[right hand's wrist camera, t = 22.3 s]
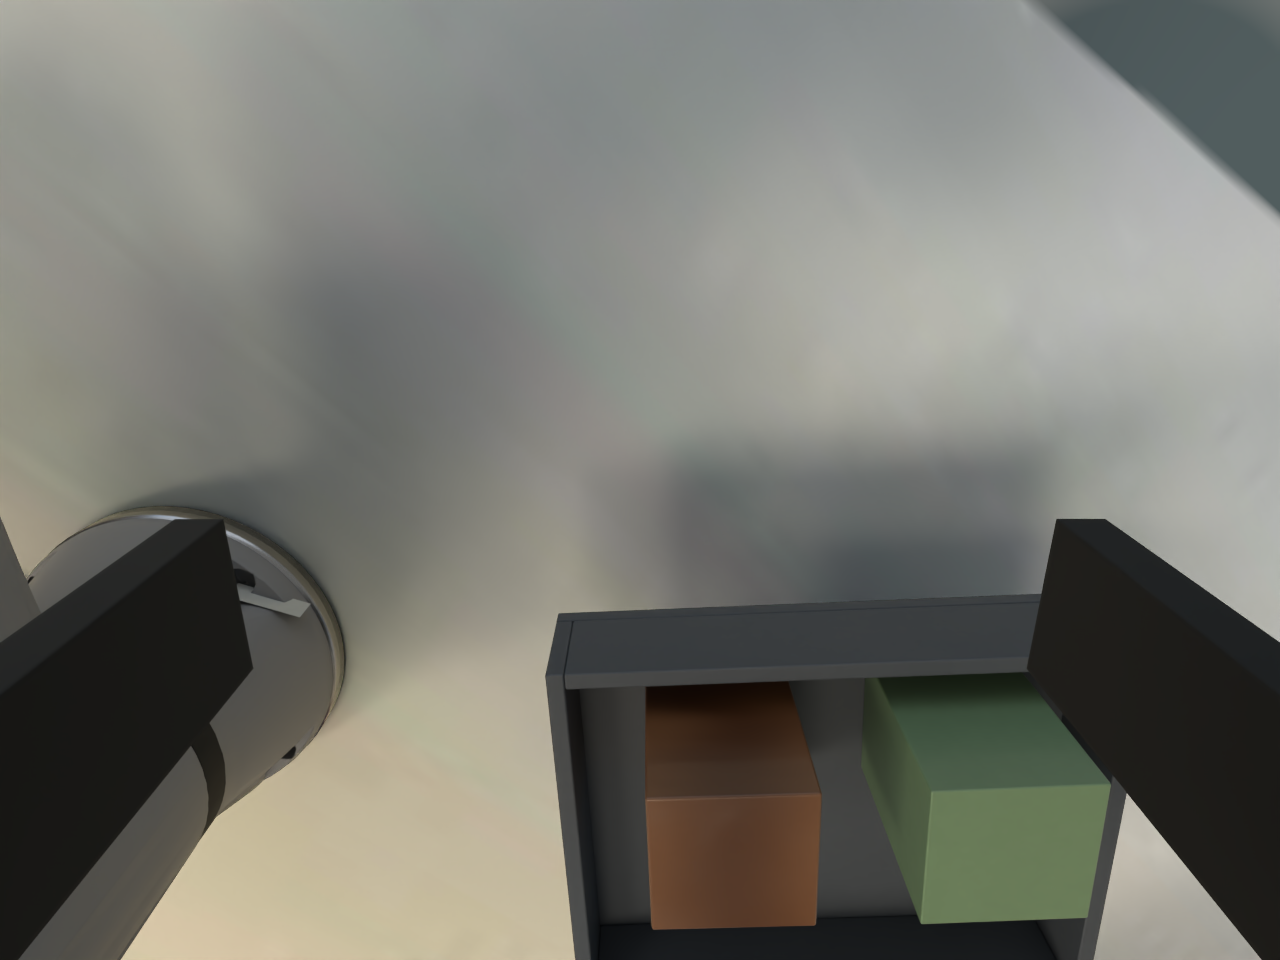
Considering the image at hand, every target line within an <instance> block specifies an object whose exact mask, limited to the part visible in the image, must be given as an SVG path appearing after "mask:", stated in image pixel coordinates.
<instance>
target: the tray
mask: <svg viewBox="0 0 1280 960" xmlns="http://www.w3.org/2000/svg"><path fill="white" fill-rule="evenodd" d="M1040 599H1041V594H1027V595H1002V596H978V597H953V598H928V599H903V600H879V601H854V602H829V603H805V604H780V605H755V606H730V607H706V608H681V609H656V610H632V611H607V612H582V613H559V614H558V618H557V624H556V628H555V633H554V638H553V642H552V647H551V652H550V657H549V661H548V666H547V671H546V676H545V677H546V686H547V696H548V705H549V714H550V724H551V733H552V743H553V752H554V762H555V771H556V781H557V790H558V800H559V809H560V819H561V828H562V838H563V847H564V857H565V866H566V875H567V885H568V894H569V904H570V913H571V923H572V932H573V942H574V951H575V960H1093V959H1094V954H1095V949H1096V944H1097V939H1098V934H1099V929H1100V924H1101V919H1102V914H1103V909H1104V904H1105V899H1106V894H1107V889H1108V884H1109V879H1110V874H1111V869H1112V864H1113V859H1114V854H1115V849H1116V844H1117V839H1118V834H1119V829H1120V824H1121V819H1122V814H1123V809H1124V804H1125V799H1126V794H1127V792H1126V791H1125V790H1124V789H1123V787H1122V786H1121V785H1120V784H1119V782H1118V781H1117V780H1116V779H1115V777H1114V776H1113V775H1112V774H1111V772H1110V771H1109V770H1108V769H1107V768H1106V766H1105V765H1104V764H1103V763H1102V761H1101V760H1100V759H1099V758H1098V756H1097V755H1096V754H1095V753H1094V751H1093V750H1092V749H1091V748H1090V746H1089V745H1088V744H1087V743H1086V742H1085V740H1084V739H1083V738H1082V737H1081V735H1080V734H1079V733H1078V732H1077V730H1076V729H1075V728H1074V727H1073V725H1072V724H1071V723H1070V722H1069V720H1068V719H1067V718H1066V717H1065V716H1064V714H1063V713H1062V712H1061V711H1060V709H1059V708H1058V707H1057V706H1056V704H1055V703H1054V702H1053V701H1052V699H1051V698H1050V697H1049V696H1048V694H1047V693H1046V692H1045V691H1044V690H1043V688H1042V687H1041V686H1040V685H1039V683H1038V682H1037V681H1036V680H1035V678H1034V677H1033V676H1032V675H1031V673H1030V672H1029V671H1028V670H1027V664H1028V659H1029V654H1030V649H1031V644H1032V639H1033V634H1034V629H1035V624H1036V619H1037V614H1038V609H1039V604H1040ZM1014 672H1023V674H1024V675H1025V676H1026V678H1027V679H1028V680H1029V681H1030V683H1031V684H1032V685H1033V686H1034V688H1035V689H1036V690H1037V691H1038V693H1039V694H1040V695H1041V696H1042V698H1043V699H1044V700H1045V701H1046V703H1047V704H1048V705H1049V706H1050V708H1051V709H1052V710H1053V711H1054V713H1055V714H1056V715H1057V717H1058V718H1059V719H1060V720H1061V722H1062V723H1063V724H1064V725H1065V727H1066V728H1067V729H1068V730H1069V732H1070V733H1071V734H1072V735H1073V737H1074V738H1075V739H1076V740H1077V742H1078V743H1079V744H1080V745H1081V747H1082V748H1083V749H1084V751H1085V752H1086V753H1087V754H1088V756H1089V757H1090V758H1091V759H1092V761H1093V762H1094V763H1095V764H1096V766H1097V767H1098V768H1099V769H1100V771H1101V772H1102V773H1103V774H1104V776H1105V777H1106V778H1107V779H1108V781H1109V782H1110V784H1111V788H1110V794H1109V800H1108V805H1107V811H1106V817H1105V822H1104V828H1103V833H1102V839H1101V845H1100V850H1099V856H1098V862H1097V867H1096V873H1095V878H1094V884H1093V890H1092V895H1091V901H1090V907H1089V912H1088V917H1087V918H1068V919H1042V920H1015V921H989V922H963V923H937V924H921V923H920V920H919V918H918V915H917V912H916V910H915V907H914V905H913V902H912V899H911V897H910V894H909V891H908V889H907V886H906V883H905V881H904V878H903V876H902V873H901V870H900V868H899V865H898V862H897V860H896V857H895V854H894V852H893V849H892V847H891V844H890V841H889V839H888V836H887V833H886V831H885V828H884V825H883V823H882V820H881V817H880V815H879V812H878V810H877V807H876V804H875V802H874V799H873V796H872V794H871V791H870V788H869V786H868V783H867V781H866V778H865V775H864V773H863V770H862V767H861V759H862V737H863V714H864V691H865V678H883V677H910V676H936V675H962V674H988V673H1014ZM779 681H789V684H790V687H791V691H792V694H793V697H794V701H795V704H796V708H797V711H798V714H799V718H800V721H801V724H802V728H803V731H804V735H805V738H806V741H807V745H808V748H809V751H810V755H811V758H812V762H813V765H814V768H815V772H816V775H817V778H818V782H819V785H820V789H821V792H822V808H821V830H820V852H819V874H818V896H817V918H816V925H814V926H778V927H738V928H699V929H659V930H654V929H652V926H651V907H650V886H649V866H648V846H647V826H646V806H645V687H648V686H674V685H700V684H726V683H752V682H779Z"/></svg>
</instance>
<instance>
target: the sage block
mask: <svg viewBox="0 0 1280 960" xmlns="http://www.w3.org/2000/svg"><path fill="white" fill-rule="evenodd" d="M861 767H862V770H863V773H864V775H865V778H866V781H867V783H868V786H869V788H870V791H871V794H872V796H873V799H874V802H875V804H876V807H877V810H878V812H879V815H880V817H881V820H882V823H883V825H884V828H885V831H886V833H887V836H888V839H889V841H890V844H891V847H892V849H893V852H894V854H895V857H896V860H897V862H898V865H899V868H900V870H901V873H902V876H903V878H904V881H905V883H906V886H907V889H908V891H909V894H910V897H911V899H912V902H913V905H914V907H915V910H916V912H917V915H918V918H919V920H920V923H921V924H937V923H963V922H989V921H1015V920H1042V919H1068V918H1087V917H1088V912H1089V907H1090V901H1091V895H1092V890H1093V884H1094V878H1095V873H1096V867H1097V862H1098V856H1099V850H1100V845H1101V839H1102V833H1103V828H1104V822H1105V817H1106V811H1107V805H1108V800H1109V794H1110V788H1111V784H1110V782H1109V781H1108V779H1107V778H1106V777H1105V776H1104V774H1103V773H1102V772H1101V771H1100V769H1099V768H1098V767H1097V766H1096V764H1095V763H1094V762H1093V761H1092V759H1091V758H1090V757H1089V756H1088V754H1087V753H1086V752H1085V751H1084V749H1083V748H1082V747H1081V745H1080V744H1079V743H1078V742H1077V740H1076V739H1075V738H1074V737H1073V735H1072V734H1071V733H1070V732H1069V730H1068V729H1067V728H1066V727H1065V725H1064V724H1063V723H1062V722H1061V720H1060V719H1059V718H1058V717H1057V715H1056V714H1055V713H1054V711H1053V710H1052V709H1051V708H1050V706H1049V705H1048V704H1047V703H1046V701H1045V700H1044V699H1043V698H1042V696H1041V695H1040V694H1039V693H1038V691H1037V690H1036V689H1035V688H1034V686H1033V685H1032V684H1031V683H1030V681H1029V680H1028V679H1027V678H1026V676H1025V675H1024V674H1023V672H1014V673H988V674H962V675H936V676H910V677H883V678H865V691H864V714H863V737H862V759H861Z"/></svg>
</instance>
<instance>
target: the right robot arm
mask: <svg viewBox="0 0 1280 960" xmlns="http://www.w3.org/2000/svg"><path fill="white" fill-rule="evenodd" d="M1027 670H1028V671H1029V672H1030V673H1031V675H1032V676H1033V677H1034V678H1035V680H1036V681H1037V682H1038V683H1039V685H1040V686H1041V687H1042V688H1043V690H1044V691H1045V692H1046V693H1047V694H1048V696H1049V697H1050V698H1051V699H1052V701H1053V702H1054V703H1055V704H1056V706H1057V707H1058V708H1059V709H1060V711H1061V712H1062V713H1063V714H1064V716H1065V717H1066V718H1067V719H1068V720H1069V722H1070V723H1071V724H1072V725H1073V727H1074V728H1075V729H1076V730H1077V732H1078V733H1079V734H1080V735H1081V737H1082V738H1083V739H1084V740H1085V742H1086V743H1087V744H1088V745H1089V746H1090V748H1091V749H1092V750H1093V751H1094V753H1095V754H1096V755H1097V756H1098V758H1099V759H1100V760H1101V761H1102V763H1103V764H1104V765H1105V766H1106V768H1107V769H1108V770H1109V771H1110V772H1111V774H1112V775H1113V776H1114V777H1115V779H1116V780H1117V781H1118V782H1119V784H1120V785H1121V786H1122V787H1123V789H1124V790H1125V791H1126V792H1127V793H1128V795H1129V796H1130V797H1131V798H1132V800H1133V801H1134V802H1135V803H1136V805H1137V806H1138V807H1139V808H1140V810H1141V811H1142V812H1143V813H1144V815H1145V816H1146V817H1147V818H1148V819H1149V821H1150V822H1151V823H1152V824H1153V826H1154V827H1155V828H1156V829H1157V831H1158V832H1159V833H1160V834H1161V836H1162V837H1163V838H1164V839H1165V841H1166V842H1167V843H1168V844H1169V845H1170V847H1171V848H1172V849H1173V850H1174V852H1175V853H1176V854H1177V855H1178V857H1179V858H1180V859H1181V860H1182V862H1183V863H1184V864H1185V865H1186V867H1187V868H1188V869H1189V870H1190V871H1191V873H1192V874H1193V875H1194V876H1195V878H1196V879H1197V880H1198V881H1199V883H1200V884H1201V885H1202V886H1203V888H1204V889H1205V890H1206V891H1207V893H1208V894H1209V895H1210V896H1211V897H1212V899H1213V900H1214V901H1215V902H1216V904H1217V905H1218V906H1219V907H1220V909H1221V910H1222V911H1223V912H1224V914H1225V915H1226V916H1227V917H1228V919H1229V920H1230V921H1231V922H1232V923H1233V925H1234V926H1235V927H1236V928H1237V930H1238V931H1239V932H1240V933H1241V935H1242V936H1243V937H1244V938H1245V940H1246V941H1247V942H1248V943H1249V944H1250V946H1251V947H1252V948H1253V949H1254V951H1255V952H1256V953H1257V954H1258V956H1259V957H1260V958H1261V959H1262V960H1280V642H1278V641H1277V640H1275V639H1274V638H1273V637H1271V636H1270V635H1268V634H1267V633H1266V632H1264V631H1263V630H1261V629H1260V628H1258V627H1257V626H1256V625H1254V624H1253V623H1251V622H1250V621H1249V620H1247V619H1246V618H1244V617H1243V616H1241V615H1240V614H1239V613H1237V612H1236V611H1234V610H1233V609H1232V608H1230V607H1229V606H1227V605H1226V604H1225V603H1223V602H1222V601H1220V600H1219V599H1217V598H1216V597H1215V596H1213V595H1212V594H1210V593H1209V592H1208V591H1206V590H1205V589H1203V588H1202V587H1200V586H1199V585H1198V584H1196V583H1195V582H1193V581H1192V580H1191V579H1189V578H1188V577H1186V576H1185V575H1184V574H1182V573H1181V572H1179V571H1178V570H1176V569H1175V568H1174V567H1172V566H1171V565H1169V564H1168V563H1167V562H1165V561H1164V560H1162V559H1161V558H1159V557H1158V556H1157V555H1155V554H1154V553H1152V552H1151V551H1150V550H1148V549H1147V548H1145V547H1144V546H1143V545H1141V544H1140V543H1138V542H1137V541H1135V540H1134V539H1133V538H1131V537H1130V536H1128V535H1127V534H1126V533H1124V532H1123V531H1121V530H1120V529H1118V528H1117V527H1116V526H1114V525H1113V524H1111V523H1110V522H1109V521H1107V520H1106V519H1056V524H1055V529H1054V534H1053V539H1052V544H1051V549H1050V554H1049V559H1048V564H1047V569H1046V574H1045V579H1044V584H1043V589H1042V594H1041V599H1040V604H1039V609H1038V614H1037V619H1036V624H1035V629H1034V634H1033V639H1032V644H1031V649H1030V654H1029V659H1028V664H1027ZM343 675H344V648H343V642H342V637H341V633H340V629H339V625H338V623H337V620H336V618H335V615H334V612H333V610H332V608H331V606H330V604H329V602H328V600H327V599H326V597H325V596H324V594H323V592H322V591H321V589H320V588H319V586H318V585H317V584H316V582H315V581H314V580H313V578H312V577H311V576H310V575H309V574H308V572H307V571H306V570H305V569H304V568H303V567H302V566H301V565H300V564H299V563H298V562H297V561H296V560H295V559H294V558H293V557H292V556H291V555H290V554H288V553H287V552H286V551H285V550H283V549H282V548H281V547H280V546H278V545H277V544H276V543H274V542H273V541H271V540H270V539H268V538H267V537H265V536H264V535H262V534H260V533H258V532H256V531H255V530H253V529H251V528H249V527H247V526H245V525H243V524H241V523H238V522H236V521H234V520H231V519H228V518H226V517H223V516H220V515H217V514H213V513H209V512H206V511H202V510H196V509H191V508H184V507H173V506H152V507H141V508H135V509H130V510H125V511H122V512H118V513H115V514H112V515H109V516H107V517H105V518H102V519H100V520H98V521H96V522H94V523H93V524H91V525H89V526H87V527H86V528H84V529H82V530H81V531H79V532H77V533H76V534H74V535H72V536H71V537H69V538H67V539H66V540H65V541H63V542H62V543H61V544H59V545H58V546H57V547H56V548H55V549H54V550H53V551H52V552H50V553H49V554H48V555H47V556H46V557H45V558H44V559H43V560H42V561H41V562H40V563H39V564H38V565H37V566H36V567H35V568H34V570H33V571H32V572H31V574H30V575H29V577H28V578H27V580H26V578H25V576H24V573H23V571H22V569H21V566H20V564H19V562H18V559H17V557H16V554H15V552H14V549H13V547H12V545H11V542H10V540H9V537H8V535H7V532H6V530H5V527H4V525H3V522H2V520H1V517H0V960H121V958H122V957H123V955H124V954H125V952H126V951H127V949H128V948H129V946H130V945H131V943H132V942H133V940H134V939H135V937H136V936H137V934H138V933H139V931H140V930H141V928H142V927H143V925H144V924H145V922H146V921H147V919H148V918H149V916H150V915H151V913H152V912H153V910H154V909H155V907H156V906H157V904H158V903H159V901H160V900H161V898H162V897H163V895H164V894H165V892H166V890H167V889H168V887H169V886H170V884H171V883H172V881H173V880H174V878H175V877H176V875H177V874H178V872H179V871H180V869H181V868H182V866H183V865H184V863H185V862H186V860H187V859H188V857H189V856H190V854H191V853H192V851H193V850H194V848H195V847H196V845H197V843H198V842H199V840H200V839H201V838H202V836H203V835H204V833H205V832H206V830H207V829H208V828H209V826H210V825H211V823H212V822H213V820H214V819H215V818H216V817H217V816H218V815H219V814H221V813H222V812H223V811H225V810H226V809H228V808H229V807H230V806H232V805H233V804H234V803H236V802H237V801H239V800H240V799H241V798H243V797H244V796H245V795H247V794H248V793H249V792H251V791H252V790H253V789H254V788H256V787H257V786H258V785H259V784H260V783H261V782H262V781H263V780H264V779H266V778H268V777H270V776H272V775H273V774H275V773H276V772H278V771H279V770H281V769H282V768H283V767H285V766H286V765H287V764H289V763H290V762H291V761H292V760H294V759H295V758H296V757H297V756H298V755H299V754H300V753H301V752H302V751H303V749H304V748H305V747H306V746H307V745H308V744H309V743H310V742H311V741H312V740H313V738H314V737H315V736H316V735H317V733H318V732H319V730H320V728H321V727H322V725H323V724H324V722H325V720H326V719H327V717H328V715H329V714H330V712H331V711H332V709H333V707H334V705H335V703H336V700H337V698H338V695H339V692H340V689H341V686H342V681H343Z"/></svg>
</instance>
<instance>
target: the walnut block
mask: <svg viewBox="0 0 1280 960" xmlns="http://www.w3.org/2000/svg"><path fill="white" fill-rule="evenodd" d="M645 806H646V826H647V846H648V866H649V886H650V907H651V926H652V929H654V930H659V929H699V928H738V927H778V926H814V925H816V918H817V896H818V874H819V852H820V830H821V808H822V792H821V789H820V785H819V782H818V778H817V775H816V772H815V768H814V765H813V762H812V758H811V755H810V751H809V748H808V745H807V741H806V738H805V735H804V731H803V728H802V724H801V721H800V718H799V714H798V711H797V708H796V704H795V701H794V697H793V694H792V691H791V687H790V684H789V681H779V682H752V683H726V684H700V685H674V686H648V687H645Z"/></svg>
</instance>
